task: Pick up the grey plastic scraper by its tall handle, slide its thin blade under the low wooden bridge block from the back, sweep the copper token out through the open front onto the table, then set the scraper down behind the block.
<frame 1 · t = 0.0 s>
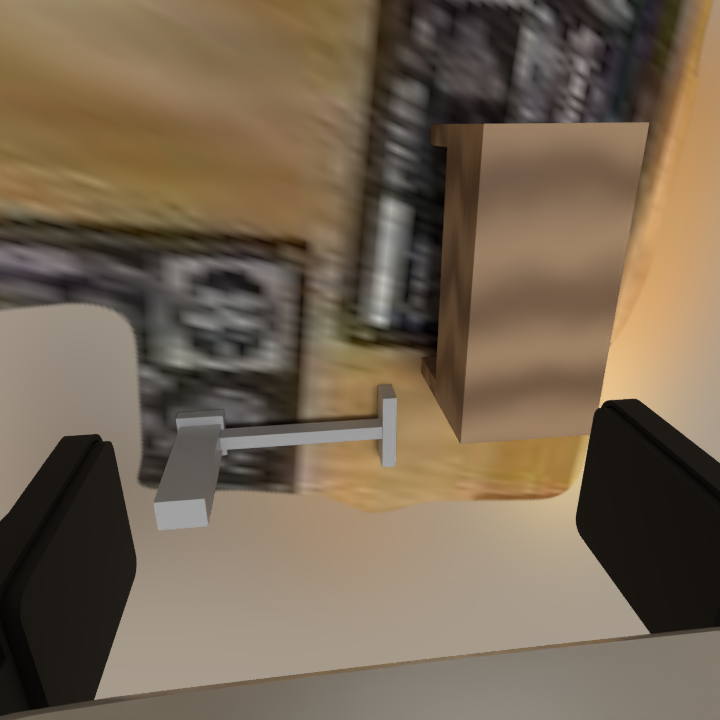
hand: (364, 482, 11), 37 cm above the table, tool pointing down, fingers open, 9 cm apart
grey scraper: (203, 430, 51), on the table
wooden bridge block: (483, 257, 48), on the table
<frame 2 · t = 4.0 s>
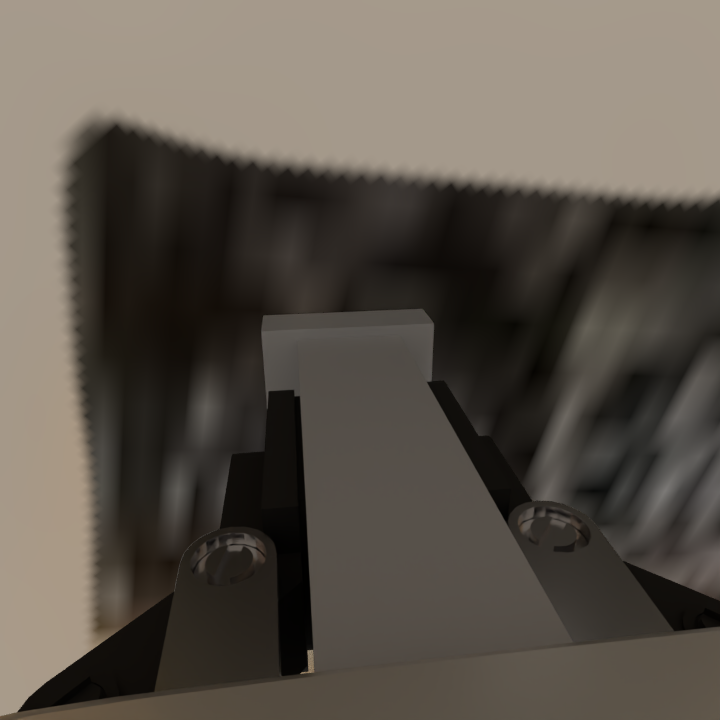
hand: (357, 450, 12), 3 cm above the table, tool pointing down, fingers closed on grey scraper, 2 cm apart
grey scraper: (345, 384, 15), on the table, touching gripper
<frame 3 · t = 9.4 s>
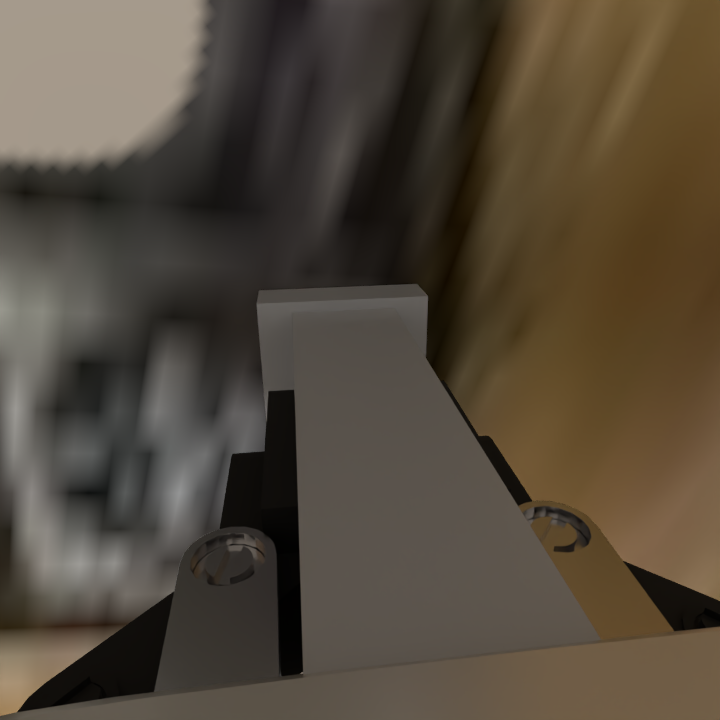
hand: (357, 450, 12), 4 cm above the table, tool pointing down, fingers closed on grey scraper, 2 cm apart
grey scraper: (341, 360, 15), on the table, touching gripper
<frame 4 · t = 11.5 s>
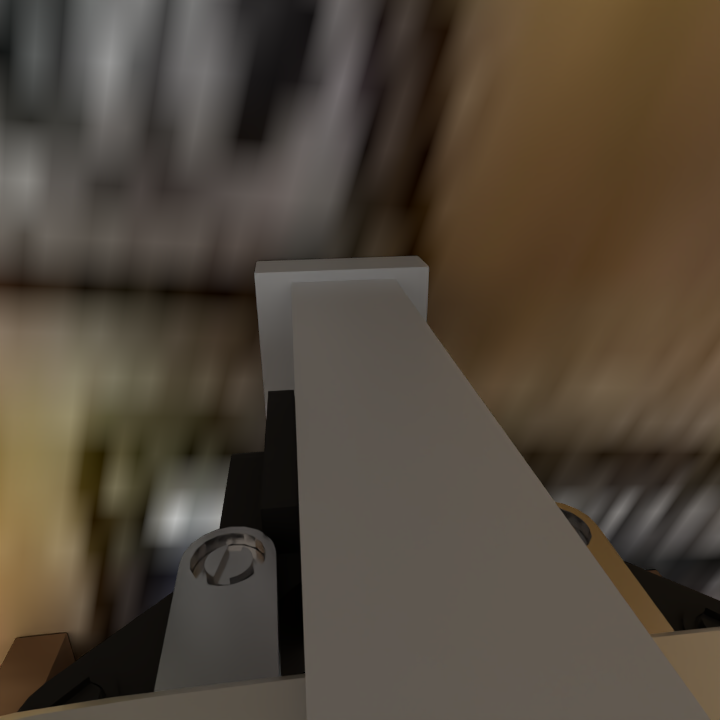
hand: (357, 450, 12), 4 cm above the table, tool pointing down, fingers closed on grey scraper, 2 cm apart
grey scraper: (340, 334, 15), on the table, touching copper token, gripper
wooden bridge block: (357, 706, 20), on the table
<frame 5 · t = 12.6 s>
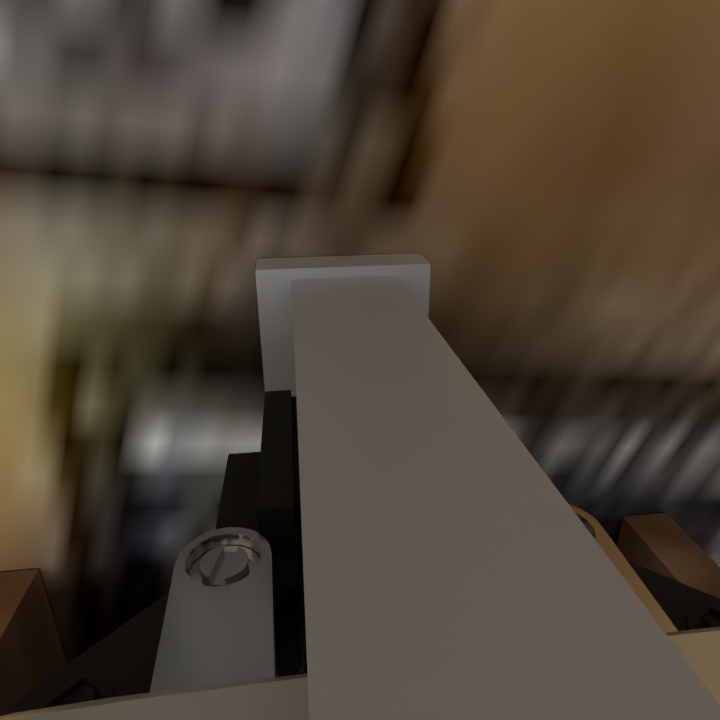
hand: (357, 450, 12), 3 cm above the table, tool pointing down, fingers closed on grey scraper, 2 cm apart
grey scraper: (341, 332, 15), on the table, touching gripper
wooden bridge block: (349, 657, 19), on the table
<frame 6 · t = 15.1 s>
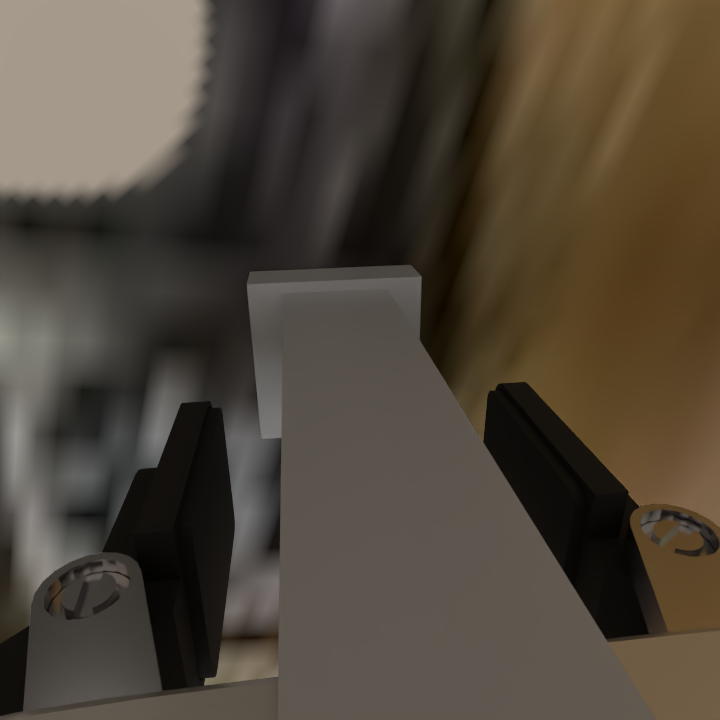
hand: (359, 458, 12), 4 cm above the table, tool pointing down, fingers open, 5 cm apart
grey scraper: (334, 343, 15), on the table
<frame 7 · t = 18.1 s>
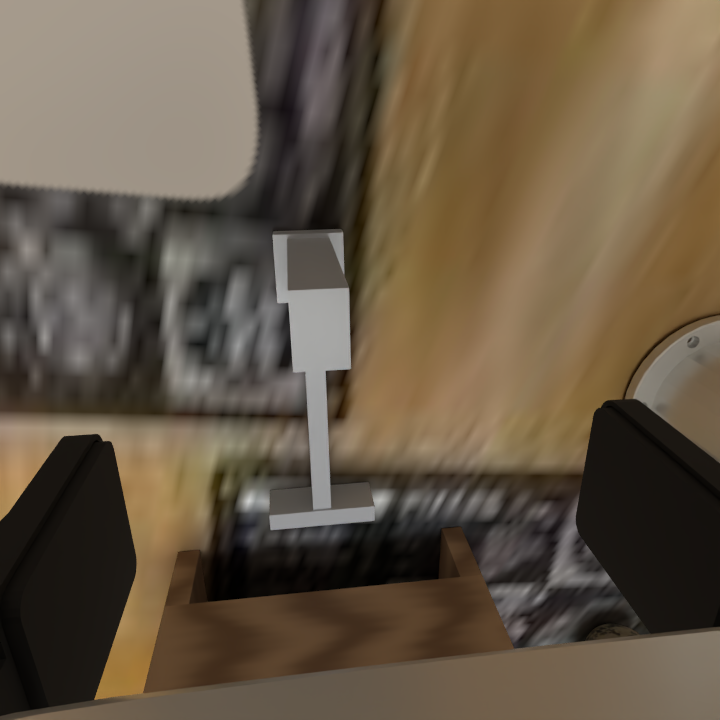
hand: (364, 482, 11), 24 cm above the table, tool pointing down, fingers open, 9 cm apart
decorative egg: (599, 630, 50), on the table
grey scraper: (308, 263, 34), on the table
wooden bridge block: (325, 590, 44), on the table
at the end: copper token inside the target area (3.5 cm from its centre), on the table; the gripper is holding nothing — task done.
